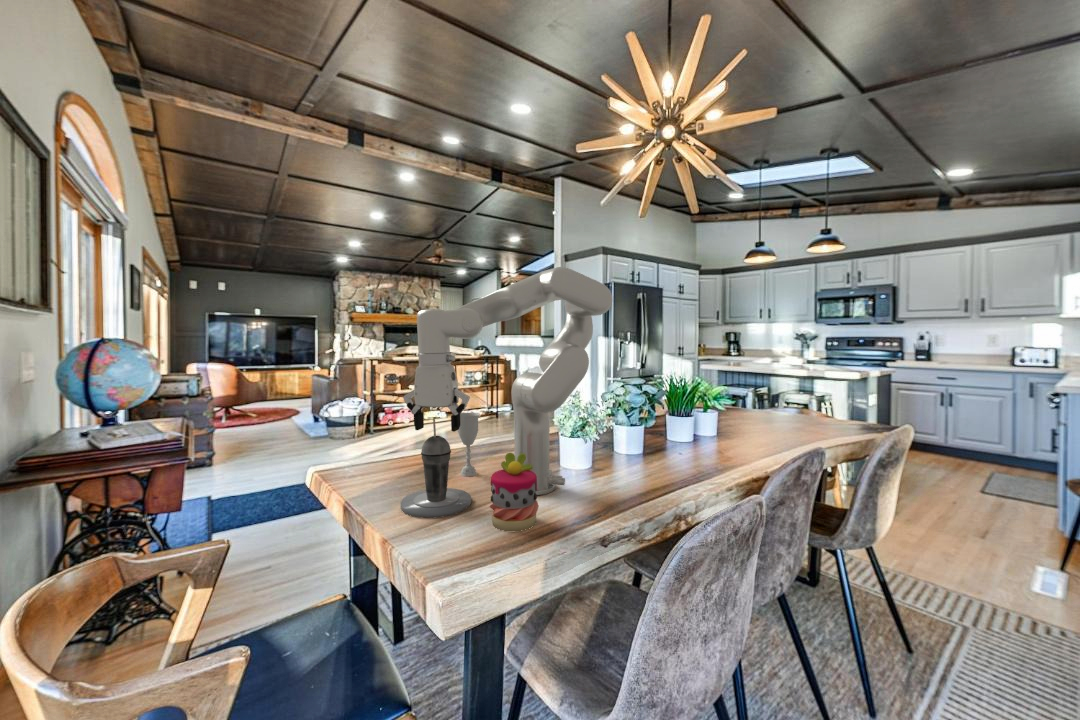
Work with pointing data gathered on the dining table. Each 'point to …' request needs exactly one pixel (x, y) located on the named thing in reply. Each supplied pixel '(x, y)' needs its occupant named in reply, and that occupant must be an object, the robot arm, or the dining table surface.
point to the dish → (435, 504)
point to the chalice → (468, 438)
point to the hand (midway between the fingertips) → (437, 429)
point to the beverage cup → (436, 466)
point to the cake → (514, 495)
